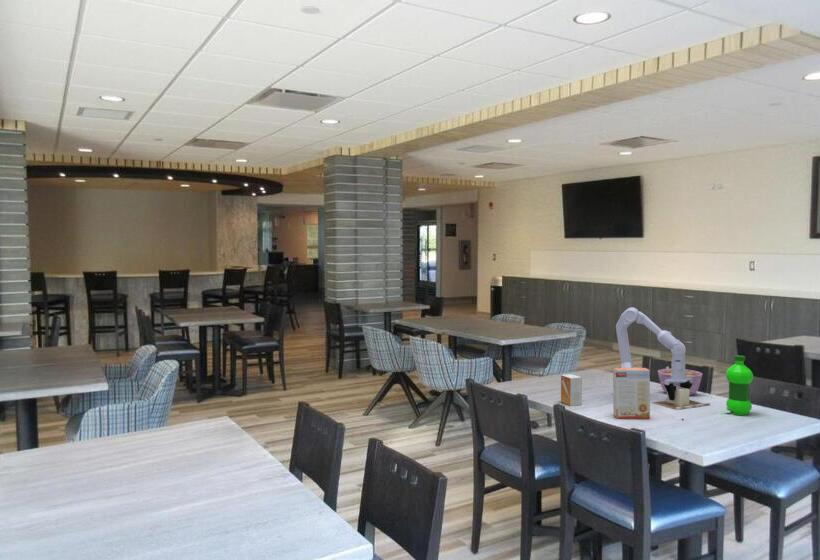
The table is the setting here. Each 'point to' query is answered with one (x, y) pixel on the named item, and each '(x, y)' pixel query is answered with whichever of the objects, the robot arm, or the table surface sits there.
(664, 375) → the bowl of food
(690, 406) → the shelf board
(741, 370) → the plastic bottle
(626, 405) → the cracker box
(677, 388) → the carton
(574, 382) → the small box
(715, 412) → the table surface
